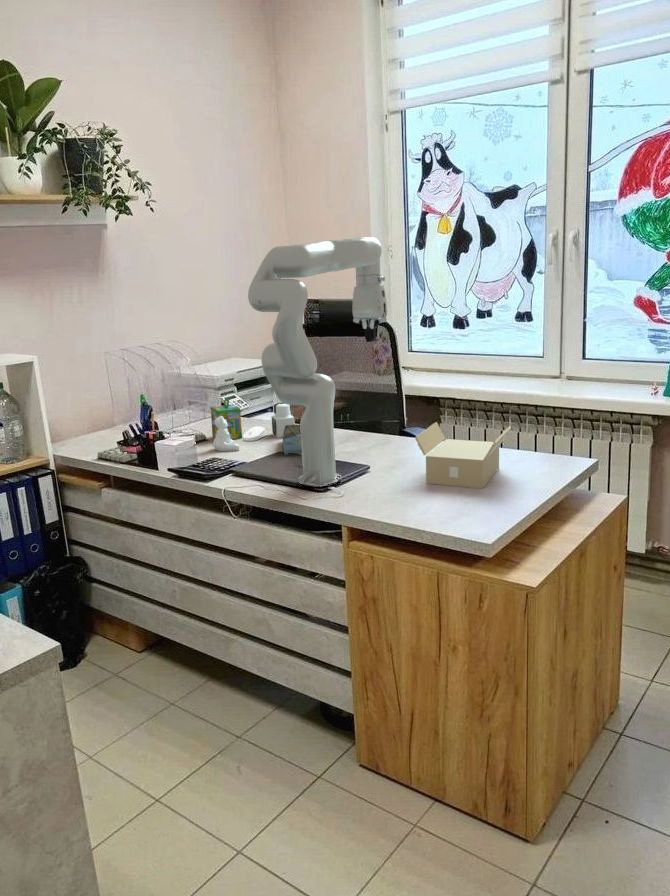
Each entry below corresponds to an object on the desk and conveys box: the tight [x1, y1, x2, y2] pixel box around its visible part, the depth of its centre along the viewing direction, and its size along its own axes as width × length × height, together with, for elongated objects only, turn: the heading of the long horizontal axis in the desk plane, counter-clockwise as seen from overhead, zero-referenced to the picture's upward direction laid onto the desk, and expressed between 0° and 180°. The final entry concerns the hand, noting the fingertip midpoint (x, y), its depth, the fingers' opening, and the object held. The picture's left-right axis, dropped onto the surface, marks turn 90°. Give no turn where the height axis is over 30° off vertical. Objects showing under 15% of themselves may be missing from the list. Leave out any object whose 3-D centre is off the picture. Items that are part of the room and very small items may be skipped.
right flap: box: [484, 425, 512, 460], centre depth 202 cm, size 19×6×1 cm
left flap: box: [414, 421, 446, 456], centre depth 211 cm, size 19×6×1 cm
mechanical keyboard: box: [97, 429, 209, 464], centre depth 258 cm, size 38×19×3 cm, turn 145°
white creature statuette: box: [212, 416, 240, 452], centre depth 251 cm, size 10×9×12 cm
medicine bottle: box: [271, 402, 296, 439], centre depth 268 cm, size 7×7×12 cm
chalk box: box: [210, 397, 243, 440], centre depth 268 cm, size 9×9×15 cm
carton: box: [425, 438, 500, 489], centre depth 208 cm, size 20×16×8 cm
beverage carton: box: [282, 423, 302, 455], centre depth 251 cm, size 8×19×7 cm, turn 1°
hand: (370, 341), depth 225 cm, fingers closed
